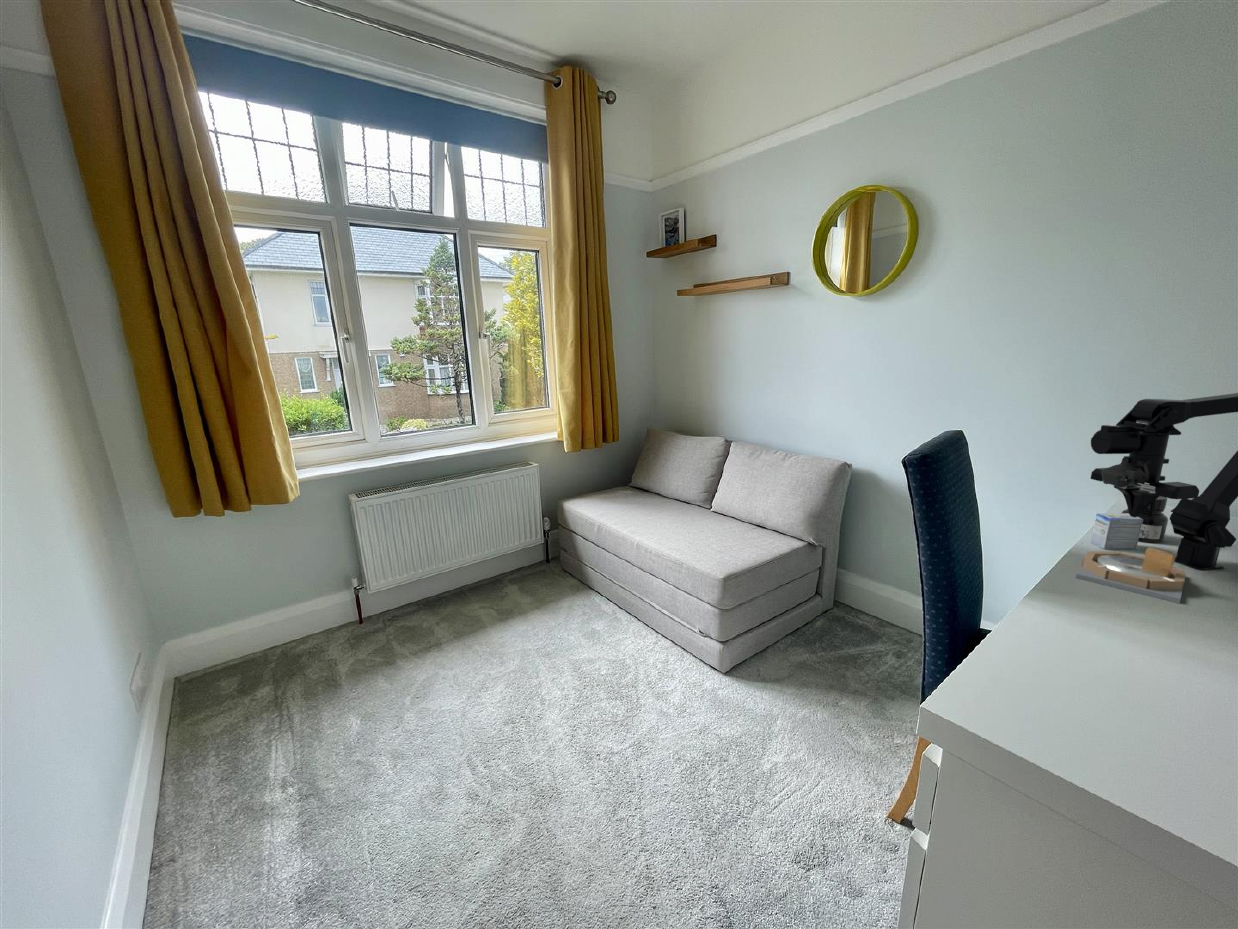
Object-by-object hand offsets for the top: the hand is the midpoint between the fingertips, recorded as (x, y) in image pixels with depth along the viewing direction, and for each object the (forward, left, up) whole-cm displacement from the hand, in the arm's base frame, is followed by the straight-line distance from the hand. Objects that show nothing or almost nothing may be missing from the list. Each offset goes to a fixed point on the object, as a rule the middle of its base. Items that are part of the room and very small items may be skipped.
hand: (1133, 516), depth 118 cm
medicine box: (-7, -9, -12) cm, 17 cm away
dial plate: (+7, +8, -12) cm, 16 cm away
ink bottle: (-20, -14, -12) cm, 28 cm away
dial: (+7, +8, -11) cm, 15 cm away
